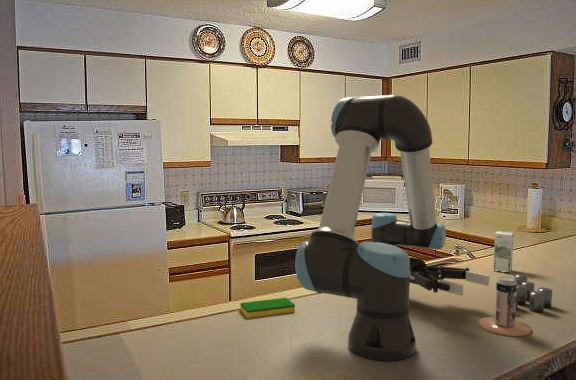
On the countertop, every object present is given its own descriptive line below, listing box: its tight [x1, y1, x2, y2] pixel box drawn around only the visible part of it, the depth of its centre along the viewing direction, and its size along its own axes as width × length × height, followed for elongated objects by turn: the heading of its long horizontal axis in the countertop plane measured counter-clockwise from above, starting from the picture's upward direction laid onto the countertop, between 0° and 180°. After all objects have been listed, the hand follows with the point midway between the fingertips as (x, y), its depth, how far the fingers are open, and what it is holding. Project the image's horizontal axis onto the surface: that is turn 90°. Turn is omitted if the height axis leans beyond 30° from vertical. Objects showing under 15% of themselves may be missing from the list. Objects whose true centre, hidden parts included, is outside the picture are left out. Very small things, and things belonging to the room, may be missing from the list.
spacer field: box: [514, 273, 553, 314], centre depth 143 cm, size 15×26×5 cm, turn 131°
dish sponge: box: [240, 297, 296, 319], centre depth 135 cm, size 7×14×2 cm, turn 112°
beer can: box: [494, 276, 517, 327], centre depth 123 cm, size 5×5×12 cm
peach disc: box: [479, 316, 532, 337], centre depth 124 cm, size 12×12×1 cm
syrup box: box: [493, 230, 515, 273], centre depth 179 cm, size 6×6×14 cm
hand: (476, 285), depth 129 cm, fingers open, 13 cm apart
